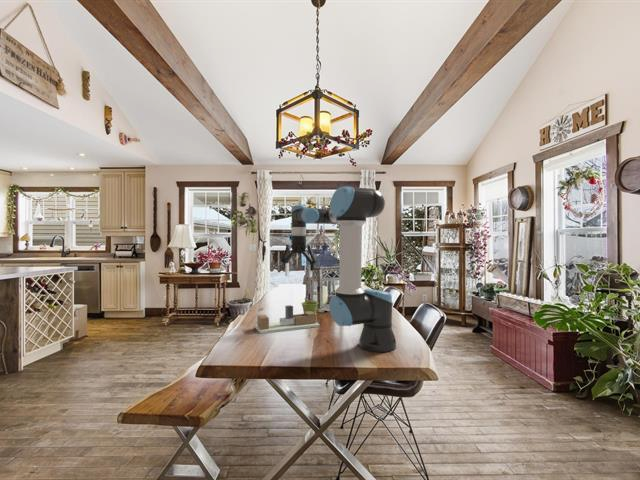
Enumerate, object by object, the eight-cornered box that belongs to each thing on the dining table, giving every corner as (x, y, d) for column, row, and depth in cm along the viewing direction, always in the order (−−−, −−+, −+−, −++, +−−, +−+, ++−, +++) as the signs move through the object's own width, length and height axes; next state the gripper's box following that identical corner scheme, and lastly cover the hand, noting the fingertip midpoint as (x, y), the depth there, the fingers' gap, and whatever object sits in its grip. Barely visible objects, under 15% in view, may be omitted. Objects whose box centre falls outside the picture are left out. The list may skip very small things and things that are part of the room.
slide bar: (313, 322, 174) (313, 304, 174) (281, 325, 168) (281, 307, 167) (311, 320, 177) (311, 303, 177) (279, 324, 170) (279, 306, 170)
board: (319, 326, 171) (319, 314, 171) (260, 333, 159) (260, 319, 159) (310, 321, 182) (310, 309, 182) (254, 327, 170) (254, 314, 170)
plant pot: (298, 317, 190) (298, 302, 190) (314, 316, 194) (314, 300, 194) (305, 321, 182) (305, 305, 182) (321, 319, 186) (321, 303, 186)
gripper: (323, 235, 175) (323, 276, 175) (281, 235, 185) (281, 274, 185) (317, 235, 168) (317, 278, 168) (274, 235, 178) (274, 275, 178)
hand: (298, 276), depth 177 cm, fingers open, 13 cm apart
